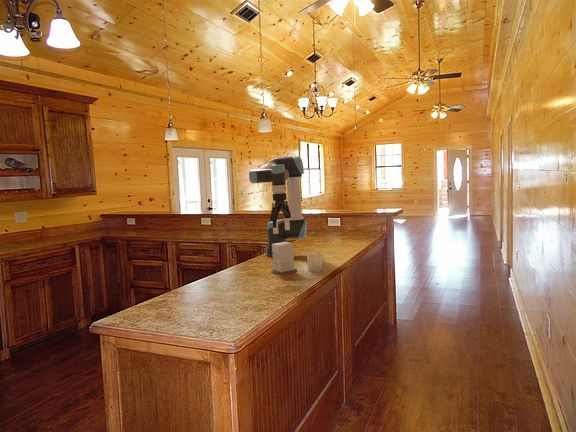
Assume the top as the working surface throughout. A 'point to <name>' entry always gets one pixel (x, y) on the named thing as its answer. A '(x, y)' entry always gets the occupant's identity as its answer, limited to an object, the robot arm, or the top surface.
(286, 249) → the supplement box
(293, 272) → the base disk
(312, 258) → the beige rounded cylinder
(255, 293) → the top surface
